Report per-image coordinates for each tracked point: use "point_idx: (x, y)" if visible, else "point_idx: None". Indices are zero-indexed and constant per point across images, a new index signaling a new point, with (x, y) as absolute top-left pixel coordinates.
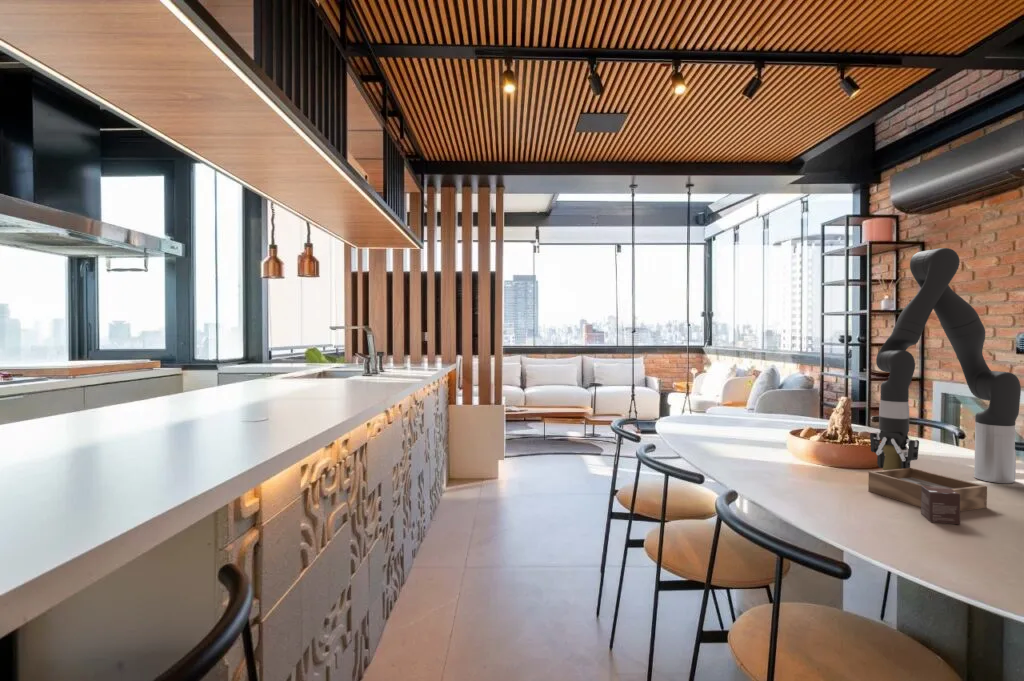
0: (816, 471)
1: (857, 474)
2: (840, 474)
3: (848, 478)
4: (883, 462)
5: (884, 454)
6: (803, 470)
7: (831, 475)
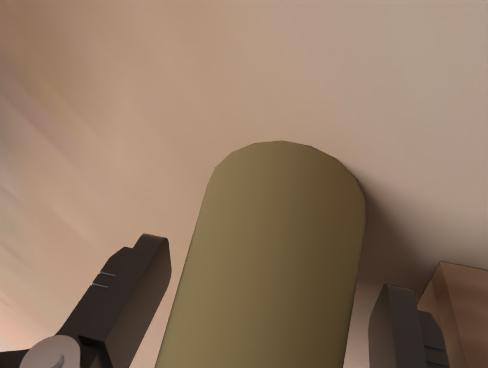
0: (24, 316)
1: (87, 232)
2: (81, 293)
3: (157, 328)
4: (147, 296)
5: (82, 354)
6: (10, 333)
7: None
